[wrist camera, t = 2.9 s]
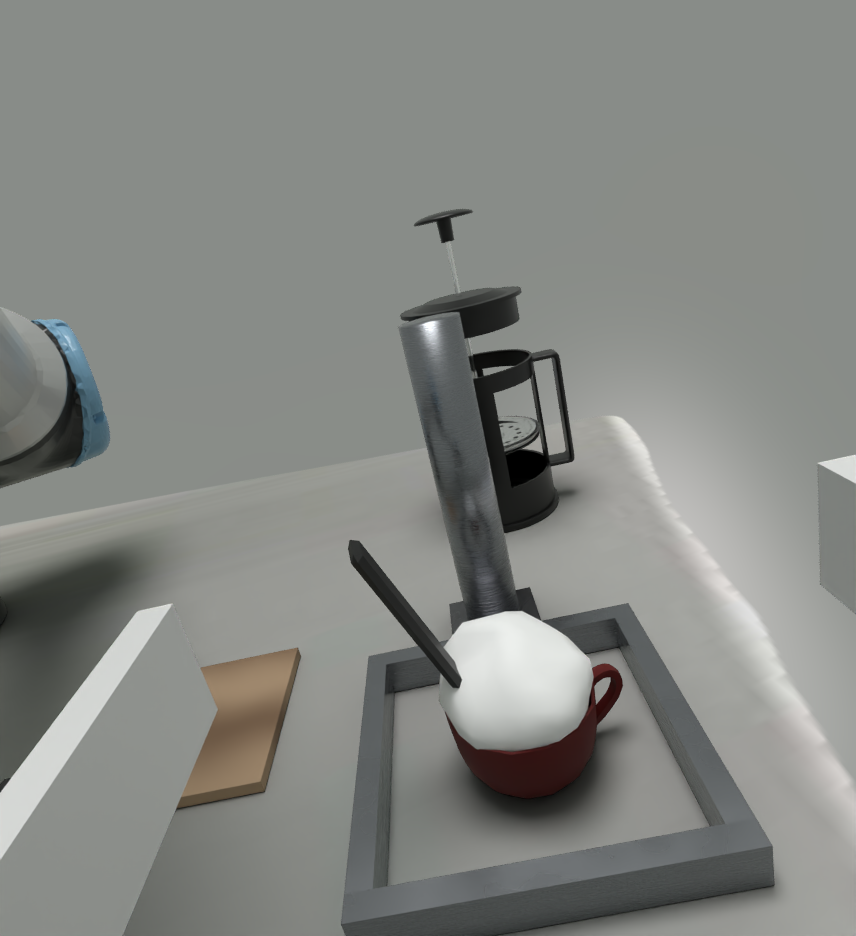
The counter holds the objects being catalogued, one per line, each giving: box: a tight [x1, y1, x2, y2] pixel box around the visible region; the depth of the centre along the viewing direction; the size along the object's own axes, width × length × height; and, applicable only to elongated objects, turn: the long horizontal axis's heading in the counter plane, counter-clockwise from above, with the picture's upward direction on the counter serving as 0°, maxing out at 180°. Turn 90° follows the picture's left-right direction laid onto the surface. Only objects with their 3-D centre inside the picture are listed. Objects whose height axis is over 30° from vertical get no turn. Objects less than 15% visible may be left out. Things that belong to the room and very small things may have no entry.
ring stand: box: [341, 312, 774, 936], centre depth 27 cm, size 19×14×18 cm
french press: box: [400, 209, 574, 532], centre depth 48 cm, size 12×9×23 cm
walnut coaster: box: [177, 648, 301, 808], centre depth 34 cm, size 10×10×1 cm
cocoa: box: [348, 540, 623, 799], centre depth 25 cm, size 10×6×12 cm, turn 80°
